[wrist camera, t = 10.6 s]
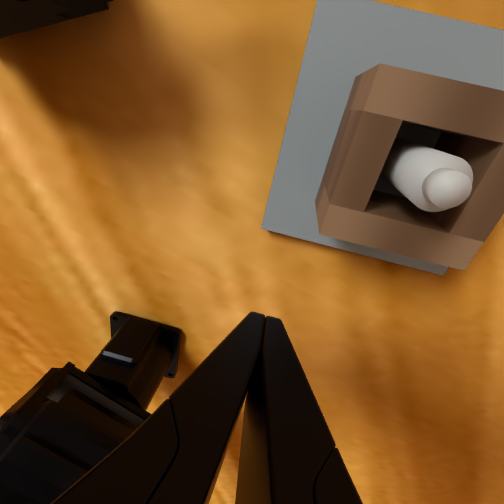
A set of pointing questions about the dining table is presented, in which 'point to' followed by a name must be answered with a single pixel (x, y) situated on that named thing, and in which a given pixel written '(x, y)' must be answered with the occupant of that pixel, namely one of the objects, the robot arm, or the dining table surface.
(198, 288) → the dining table surface
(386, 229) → the hollow square sleeve
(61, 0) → the toy
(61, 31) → the dining table surface
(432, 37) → the grey peg base
